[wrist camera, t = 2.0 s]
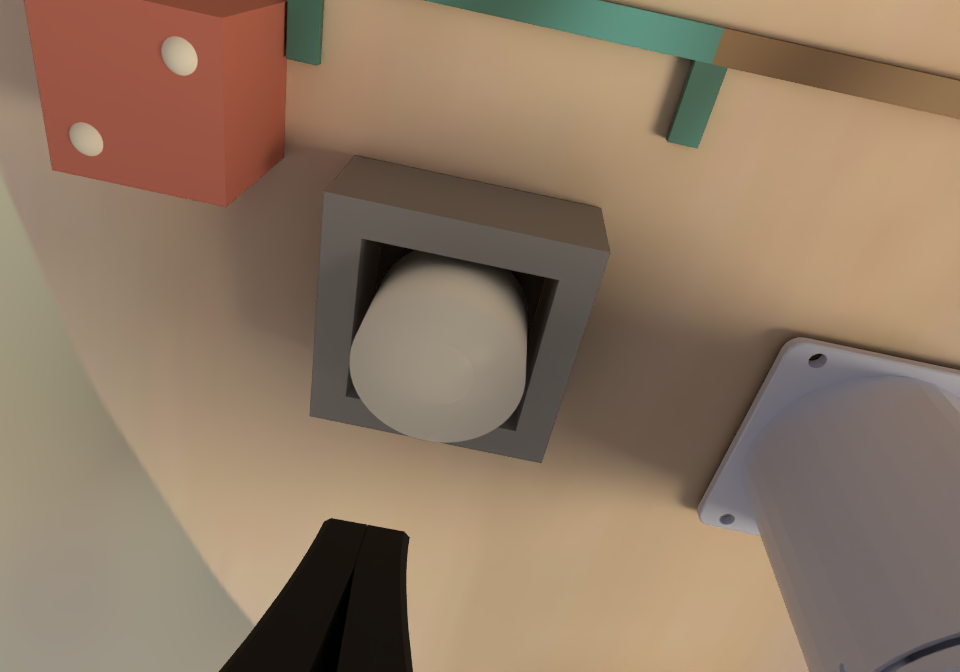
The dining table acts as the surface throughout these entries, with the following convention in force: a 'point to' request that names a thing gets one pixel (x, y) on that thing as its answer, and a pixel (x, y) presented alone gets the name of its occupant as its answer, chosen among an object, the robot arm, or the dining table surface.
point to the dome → (442, 348)
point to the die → (163, 91)
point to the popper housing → (467, 236)
